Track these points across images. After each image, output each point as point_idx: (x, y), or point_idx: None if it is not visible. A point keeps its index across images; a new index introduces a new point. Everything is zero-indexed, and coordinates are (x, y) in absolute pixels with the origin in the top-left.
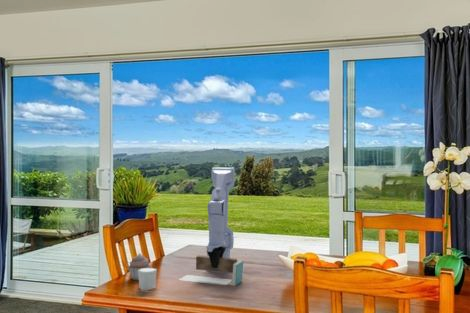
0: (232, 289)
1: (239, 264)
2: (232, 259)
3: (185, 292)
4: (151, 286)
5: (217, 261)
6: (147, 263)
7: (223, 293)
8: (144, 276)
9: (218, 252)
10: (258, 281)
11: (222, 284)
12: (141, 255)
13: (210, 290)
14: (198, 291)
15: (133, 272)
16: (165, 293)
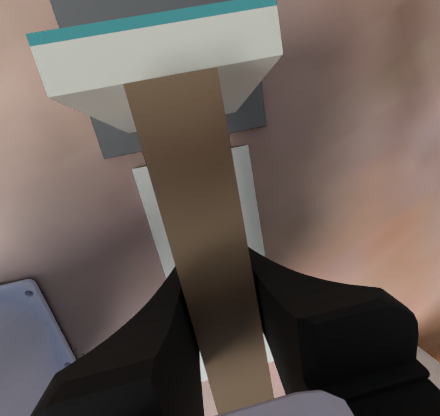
0: (279, 79)
1: (192, 15)
2: (205, 115)
3: (399, 240)
4: (425, 355)
5: (274, 262)
6: None
7: (359, 85)
8: None
9: (394, 299)
10: (31, 7)
11: (246, 167)
12: None
13: (339, 170)
14: (371, 206)
15: None
16: (430, 288)
